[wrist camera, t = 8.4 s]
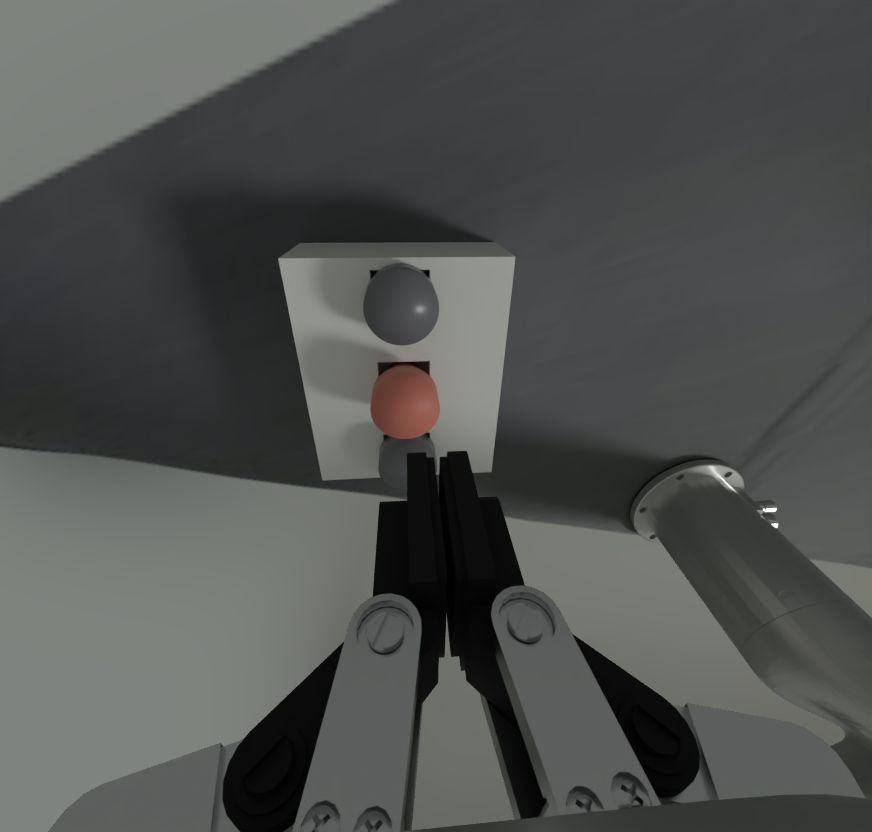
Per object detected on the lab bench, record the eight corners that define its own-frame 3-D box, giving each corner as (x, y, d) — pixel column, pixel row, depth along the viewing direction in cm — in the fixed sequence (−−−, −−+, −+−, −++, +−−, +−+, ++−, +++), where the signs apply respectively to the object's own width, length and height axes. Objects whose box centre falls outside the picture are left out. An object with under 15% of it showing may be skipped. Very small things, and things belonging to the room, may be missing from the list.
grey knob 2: (431, 405, 32) (437, 444, 28) (431, 447, 35) (436, 489, 30) (379, 407, 32) (376, 446, 27) (382, 449, 34) (380, 492, 30)
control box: (494, 242, 28) (515, 256, 23) (478, 431, 37) (491, 471, 32) (300, 242, 27) (278, 258, 22) (332, 437, 36) (322, 480, 31)
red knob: (433, 344, 28) (440, 378, 23) (433, 397, 30) (439, 437, 26) (372, 346, 28) (367, 380, 23) (377, 399, 30) (373, 440, 25)
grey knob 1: (432, 252, 26) (439, 269, 21) (431, 316, 28) (438, 344, 24) (366, 253, 26) (359, 270, 21) (371, 317, 28) (366, 346, 23)
